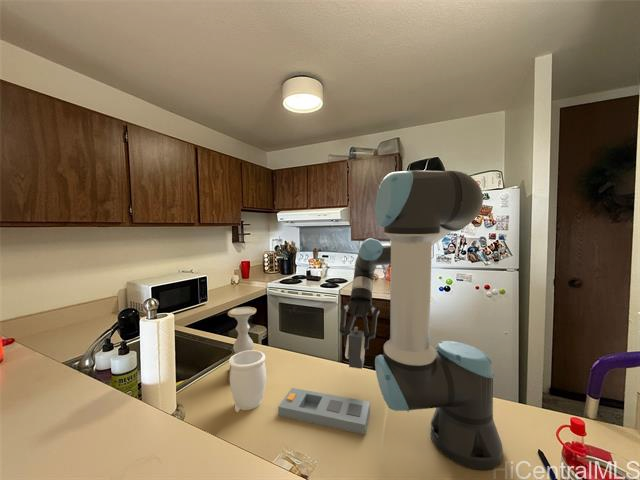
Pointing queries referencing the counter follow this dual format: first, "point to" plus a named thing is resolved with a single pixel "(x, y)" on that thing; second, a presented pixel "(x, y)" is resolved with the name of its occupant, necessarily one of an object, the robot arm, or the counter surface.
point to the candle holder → (242, 330)
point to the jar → (247, 379)
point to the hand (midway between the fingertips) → (354, 358)
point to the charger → (355, 348)
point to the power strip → (326, 410)
